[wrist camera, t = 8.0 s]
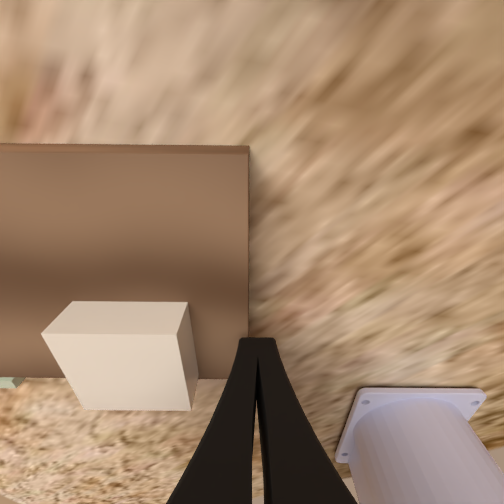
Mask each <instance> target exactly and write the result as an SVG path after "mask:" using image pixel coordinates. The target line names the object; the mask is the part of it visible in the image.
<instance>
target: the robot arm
mask: <svg viewBox="0 0 504 504" xmlns="http://www.w3.org/2000/svg"><path fill="white" fill-rule="evenodd" d="M486 397H487V396H486V394H485V393H484V392H483V391H482V390H481V389H477V388H362V389H360V390H359V391H358V392H357V395H356V398H355V400H354V403H353V406H352V409H351V412H350V414H349V417H348V420H347V423H346V425H345V428H344V431H343V434H342V436H341V439H340V442H339V445H338V447H337V450H336V453H335V460H336V461H337V462H338V463H348V464H349V467H350V471H351V475H352V478H353V482H354V485H355V489H356V493H357V496H358V500H359V504H504V473H503V472H502V471H501V469H500V468H499V466H498V465H497V463H496V462H495V461H494V459H493V458H492V456H491V455H490V453H489V452H488V450H487V449H486V448H485V446H484V445H483V443H482V442H481V441H480V439H479V438H478V436H477V435H476V433H475V432H474V431H473V429H472V428H471V426H470V425H469V423H468V422H467V421H468V420H469V419H470V418H471V417H472V415H473V414H474V413H475V412H476V410H477V409H478V408H479V407H480V405H481V404H482V403H483V402H484V400H485V399H486ZM256 399H257V411H258V422H259V433H260V444H261V455H262V466H263V481H264V504H357V502H356V501H355V499H354V497H353V496H352V494H351V493H350V491H349V490H348V488H347V487H346V485H345V484H344V482H343V481H342V479H341V477H340V476H339V474H338V472H337V471H336V469H335V467H334V466H333V464H332V462H331V461H330V459H329V457H328V456H327V454H326V452H325V450H324V449H323V447H322V445H321V443H320V442H319V440H318V438H317V436H316V434H315V433H314V431H313V429H312V427H311V425H310V423H309V421H308V419H307V417H306V415H305V413H304V411H303V409H302V407H301V405H300V403H299V401H298V399H297V397H296V395H295V392H294V390H293V388H292V386H291V383H290V381H289V379H288V377H287V374H286V372H285V369H284V366H283V364H282V361H281V358H280V355H279V352H278V349H277V345H276V341H275V339H274V338H249V337H242V338H240V339H239V343H238V348H237V352H236V356H235V360H234V363H233V366H232V369H231V372H230V375H229V377H228V380H227V383H226V386H225V388H224V391H223V393H222V396H221V398H220V400H219V403H218V405H217V407H216V409H215V412H214V414H213V416H212V419H211V421H210V423H209V425H208V427H207V429H206V431H205V433H204V435H203V437H202V439H201V441H200V443H199V445H198V447H197V449H196V451H195V453H194V455H193V457H192V459H191V460H190V462H189V464H188V466H187V468H186V469H185V471H184V473H183V475H182V477H181V479H180V480H179V482H178V484H177V486H176V487H175V489H174V491H173V493H172V494H171V496H170V498H169V499H168V501H167V503H166V504H252V454H253V440H254V426H255V412H256Z"/></svg>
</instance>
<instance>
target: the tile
mask: <svg viewBox="0 0 504 504" xmlns="http://www.w3.org/2000/svg"><path fill="white" fill-rule="evenodd" d="M41 335H42V337H43V338H44V340H45V342H46V344H47V345H48V347H49V349H50V351H51V352H52V354H53V356H54V358H55V359H56V361H57V363H58V365H59V366H60V368H61V370H62V372H63V373H64V375H65V377H66V379H67V380H68V382H69V384H70V386H71V387H72V389H73V391H74V393H75V394H76V396H77V398H78V400H79V401H80V403H81V405H82V406H83V408H84V410H160V411H191V410H192V405H193V400H194V396H195V391H196V386H197V381H198V376H199V373H198V366H197V360H196V353H195V347H194V340H193V334H192V327H191V320H190V314H189V307H188V302H112V301H72V302H71V303H70V304H69V305H68V306H67V307H66V308H65V309H64V310H63V311H62V312H61V313H60V314H59V315H58V317H57V318H56V319H55V320H54V321H53V322H52V323H51V324H50V325H49V326H48V327H47V328H46V329H45V330H44V331H43V332H42V333H41Z"/></svg>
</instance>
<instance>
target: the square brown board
mask: <svg viewBox="0 0 504 504" xmlns="http://www.w3.org/2000/svg"><path fill="white" fill-rule="evenodd" d="M72 301H112V302H188V307H189V314H190V320H191V327H192V334H193V340H194V347H195V353H196V360H197V366H198V373H199V376H198V379H228V377H229V375H230V372H231V369H232V366H233V363H234V360H235V356H236V352H237V348H238V343H239V339H240V338H242V337H249V146H212V145H108V144H5V143H0V377H30V378H66V377H65V375H64V373H63V372H62V370H61V368H60V366H59V365H58V363H57V361H56V359H55V358H54V356H53V354H52V352H51V351H50V349H49V347H48V345H47V344H46V342H45V340H44V338H43V337H42V335H41V333H42V332H43V331H44V330H45V329H46V328H47V327H48V326H49V325H50V324H51V323H52V322H53V321H54V320H55V319H56V318H57V317H58V315H59V314H60V313H61V312H62V311H63V310H64V309H65V308H66V307H67V306H68V305H69V304H70V303H71V302H72Z"/></svg>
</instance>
